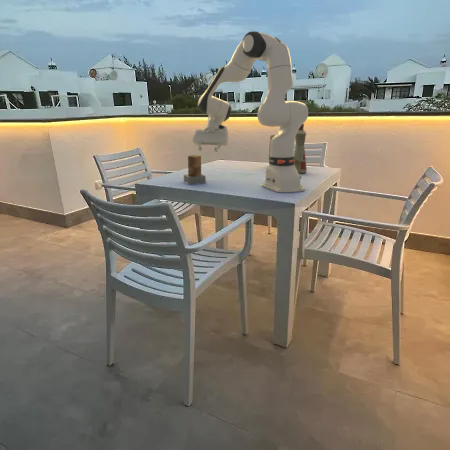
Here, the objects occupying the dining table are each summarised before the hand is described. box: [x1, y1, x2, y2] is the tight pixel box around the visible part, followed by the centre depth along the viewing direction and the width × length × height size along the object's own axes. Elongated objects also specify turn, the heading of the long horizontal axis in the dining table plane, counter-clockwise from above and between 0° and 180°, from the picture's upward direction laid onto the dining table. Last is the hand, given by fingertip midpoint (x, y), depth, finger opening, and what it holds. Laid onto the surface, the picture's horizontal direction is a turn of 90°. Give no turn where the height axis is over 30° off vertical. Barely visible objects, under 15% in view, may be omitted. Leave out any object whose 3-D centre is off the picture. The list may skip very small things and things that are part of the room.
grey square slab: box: [183, 173, 206, 185], centre depth 174 cm, size 9×9×4 cm
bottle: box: [293, 123, 307, 175], centre depth 189 cm, size 9×9×28 cm
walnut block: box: [187, 154, 202, 176], centre depth 171 cm, size 5×5×10 cm
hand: (207, 150), depth 183 cm, fingers open, 8 cm apart
